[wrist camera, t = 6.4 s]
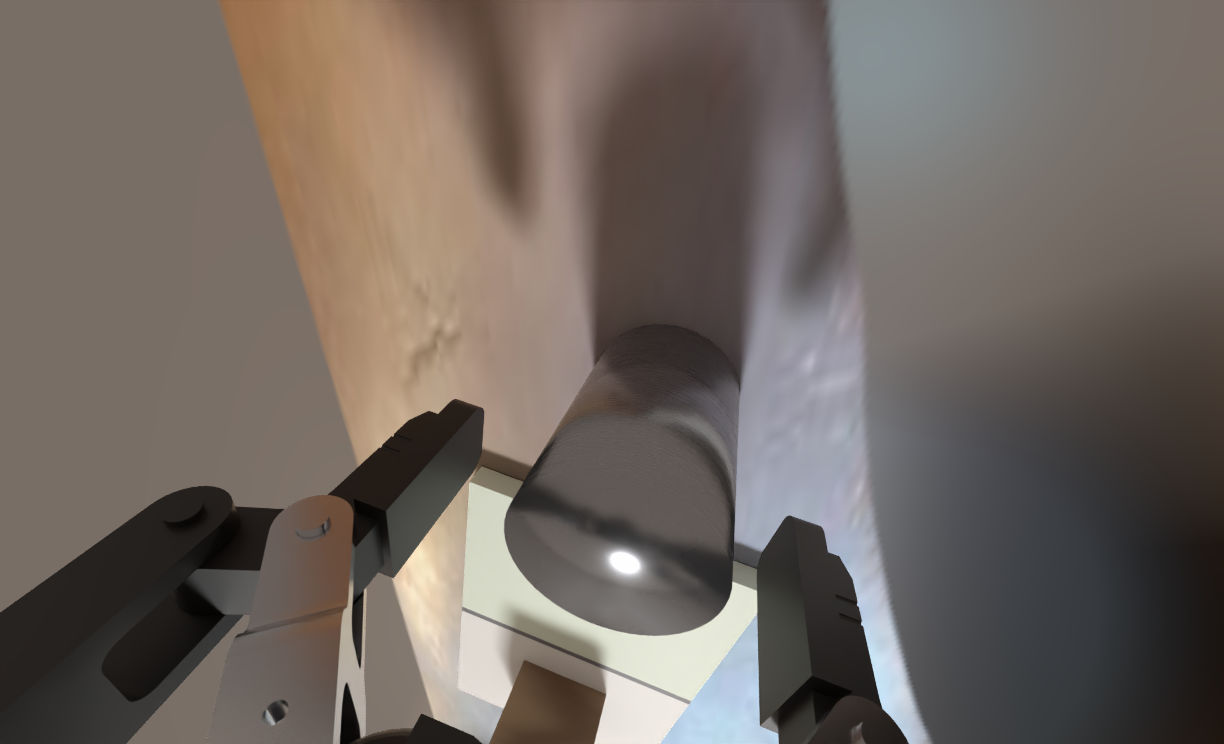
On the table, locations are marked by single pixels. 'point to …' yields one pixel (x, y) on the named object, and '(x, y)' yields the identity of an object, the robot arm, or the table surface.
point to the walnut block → (549, 710)
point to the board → (579, 634)
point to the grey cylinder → (637, 489)
